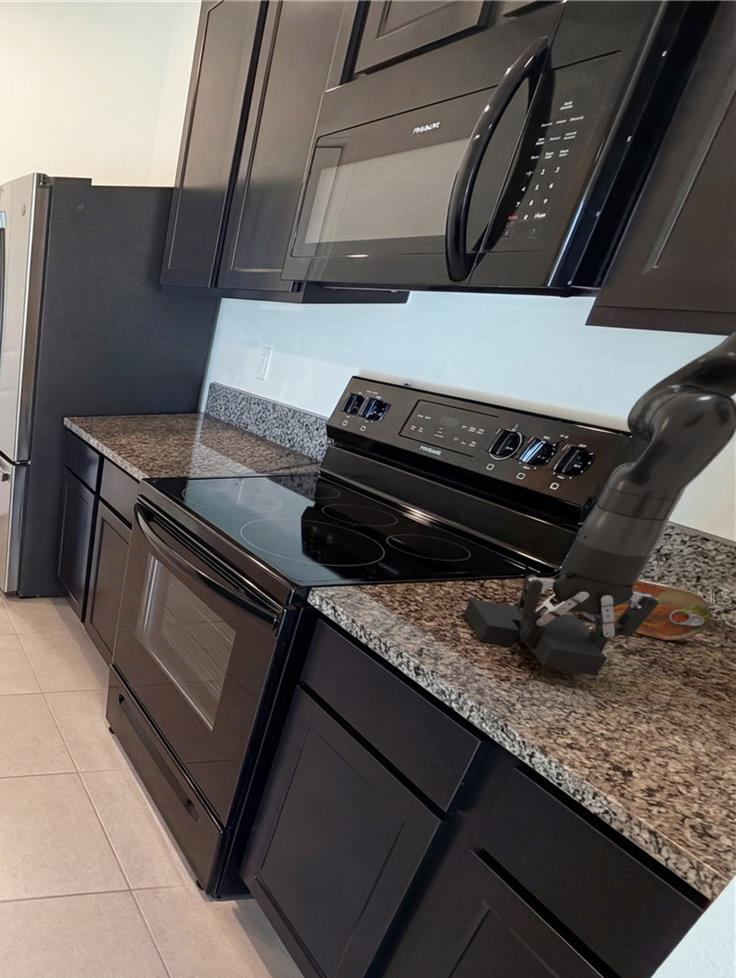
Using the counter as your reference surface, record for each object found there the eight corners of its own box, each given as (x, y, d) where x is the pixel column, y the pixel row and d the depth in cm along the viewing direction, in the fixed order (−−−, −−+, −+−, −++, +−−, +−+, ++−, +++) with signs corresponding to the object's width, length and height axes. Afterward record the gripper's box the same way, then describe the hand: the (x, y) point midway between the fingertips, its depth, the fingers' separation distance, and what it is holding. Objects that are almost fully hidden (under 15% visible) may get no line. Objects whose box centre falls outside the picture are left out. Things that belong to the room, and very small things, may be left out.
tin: (566, 615, 111) (590, 570, 107) (568, 609, 113) (591, 565, 109) (693, 648, 102) (723, 600, 98) (692, 641, 104) (722, 594, 100)
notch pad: (566, 631, 106) (575, 615, 104) (593, 661, 98) (603, 644, 96) (463, 614, 111) (470, 598, 109) (480, 641, 102) (488, 624, 101)
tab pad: (558, 632, 101) (567, 615, 99) (596, 676, 89) (607, 657, 88) (510, 623, 103) (518, 607, 101) (542, 666, 91) (552, 647, 90)
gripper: (558, 543, 86) (505, 651, 94) (702, 563, 81) (633, 675, 89) (537, 525, 92) (489, 628, 100) (669, 542, 87) (608, 649, 95)
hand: (557, 650), depth 94 cm, fingers closed on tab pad, 6 cm apart
